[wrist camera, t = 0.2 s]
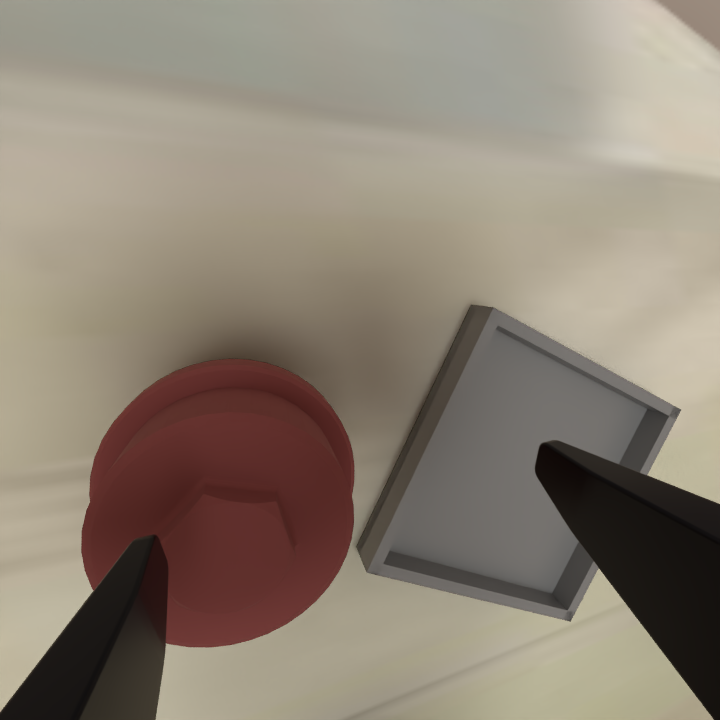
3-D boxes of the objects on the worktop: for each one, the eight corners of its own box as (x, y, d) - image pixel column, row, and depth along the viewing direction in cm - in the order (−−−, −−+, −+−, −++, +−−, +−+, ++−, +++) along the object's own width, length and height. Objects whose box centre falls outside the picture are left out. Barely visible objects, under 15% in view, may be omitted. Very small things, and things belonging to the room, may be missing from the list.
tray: (547, 596, 33) (570, 621, 31) (356, 547, 27) (366, 572, 25) (649, 400, 32) (681, 409, 29) (471, 304, 26) (493, 307, 24)
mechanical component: (114, 367, 21) (296, 314, 23) (182, 523, 24) (340, 464, 26) (-51, 474, 10) (343, 350, 12) (117, 758, 12) (415, 617, 14)
